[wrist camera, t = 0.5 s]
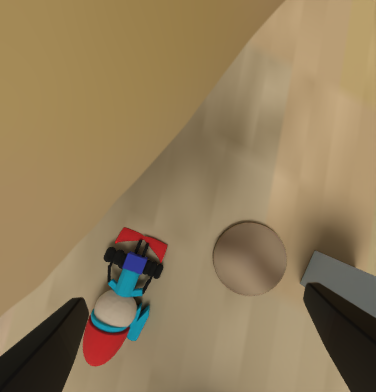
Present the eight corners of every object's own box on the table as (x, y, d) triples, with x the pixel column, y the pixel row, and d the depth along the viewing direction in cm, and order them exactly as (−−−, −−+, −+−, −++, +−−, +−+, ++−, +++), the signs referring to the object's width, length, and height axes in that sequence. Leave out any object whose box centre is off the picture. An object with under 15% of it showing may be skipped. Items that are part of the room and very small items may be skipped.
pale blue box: (340, 301, 24) (497, 411, 12) (300, 283, 24) (413, 373, 12) (355, 268, 24) (527, 343, 12) (314, 250, 24) (443, 305, 12)
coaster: (266, 304, 24) (268, 307, 23) (201, 275, 24) (202, 277, 23) (295, 240, 24) (298, 241, 23) (230, 211, 24) (231, 211, 23)
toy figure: (121, 224, 26) (73, 339, 23) (111, 225, 21) (49, 370, 18) (173, 243, 26) (131, 357, 24) (175, 248, 21) (123, 392, 19)
